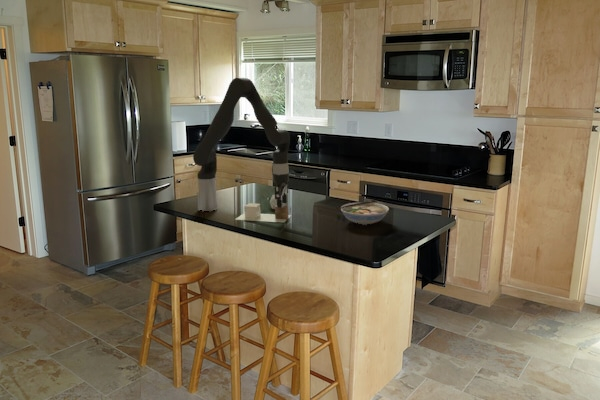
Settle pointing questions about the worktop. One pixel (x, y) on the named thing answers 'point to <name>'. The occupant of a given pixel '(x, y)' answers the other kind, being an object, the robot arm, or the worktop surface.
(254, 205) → the cube
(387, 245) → the worktop surface
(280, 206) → the robot arm
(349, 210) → the ramen bowl
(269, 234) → the worktop surface
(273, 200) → the die
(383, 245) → the worktop surface
